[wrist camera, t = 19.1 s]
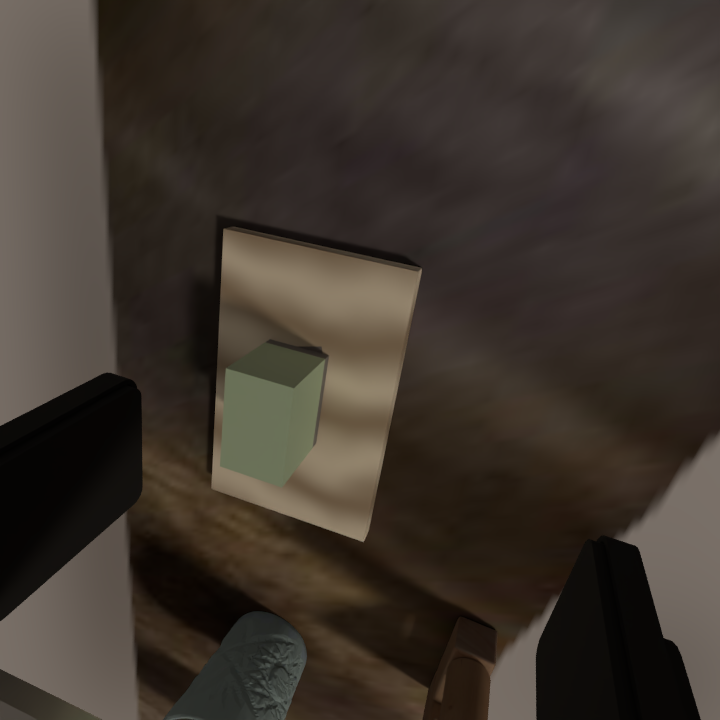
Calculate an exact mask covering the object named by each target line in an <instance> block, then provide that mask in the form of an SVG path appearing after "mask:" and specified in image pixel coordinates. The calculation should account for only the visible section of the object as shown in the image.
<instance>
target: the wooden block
mask: <svg viewBox="0 0 720 720" xmlns="http://www.w3.org/2000/svg"><path fill="white" fill-rule="evenodd" d="M496 649H497V632H496V631H495V630H493V629H491V628H488V627H486V626H483V625H481V624H479V623H476V622H474V621H471V620H469V619H467V618H464V617H459V618H458V620H457V622H456V624H455V627H454V629H453V632H452V634H451V637H450V639H449V641H448V644H447V646H446V649H445V651H444V653H443V656H442V658H441V661H440V663H439V666H438V669H437V671H436V673H435V675H434V678H433V680H432V682H431V685H430V687H429V690H428V695H427V700H426V705H425V710H424V715H423V720H487V719H488V707H489V693H490V681H491V680H490V675H491V673H492V671H493V669H494V667H495V664H496Z"/></svg>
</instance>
